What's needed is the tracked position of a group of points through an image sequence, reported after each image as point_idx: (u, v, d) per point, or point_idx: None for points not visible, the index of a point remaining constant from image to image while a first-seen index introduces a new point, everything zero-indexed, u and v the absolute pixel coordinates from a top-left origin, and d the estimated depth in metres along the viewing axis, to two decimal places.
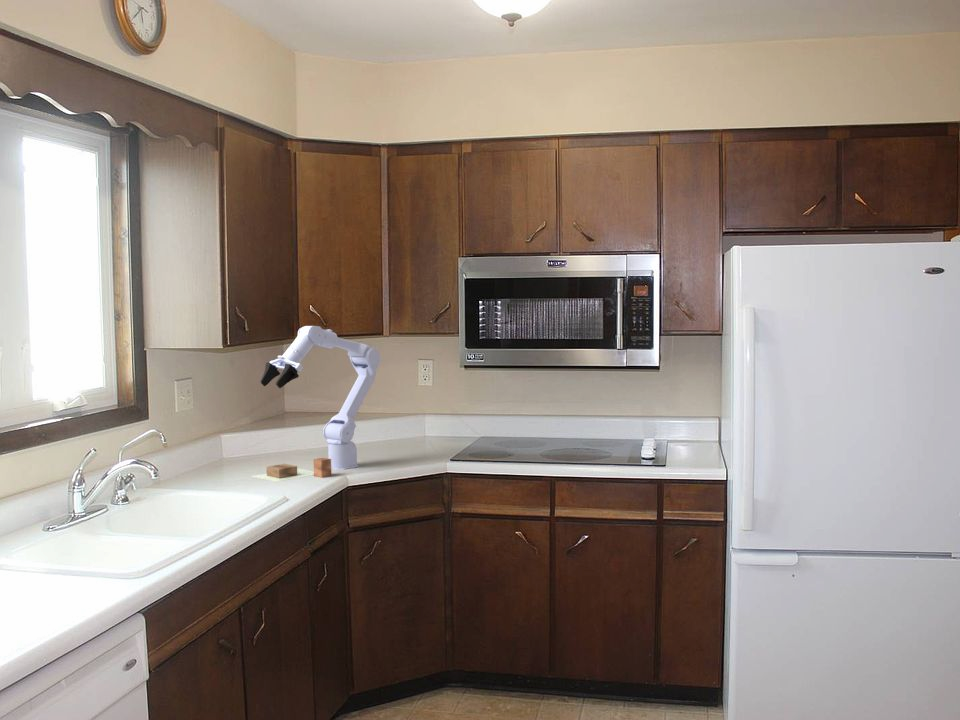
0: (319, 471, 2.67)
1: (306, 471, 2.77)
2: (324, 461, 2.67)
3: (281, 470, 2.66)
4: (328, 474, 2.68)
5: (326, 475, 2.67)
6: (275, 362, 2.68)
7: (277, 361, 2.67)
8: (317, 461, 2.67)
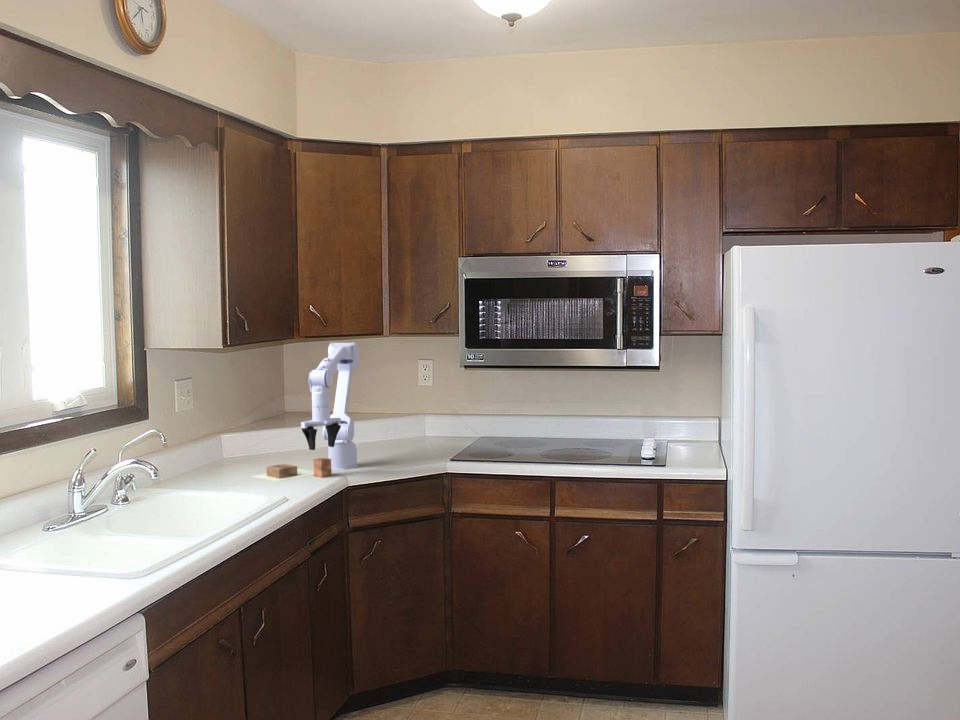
0: (319, 471, 2.67)
1: (306, 471, 2.77)
2: (324, 461, 2.67)
3: (281, 470, 2.66)
4: (328, 474, 2.68)
5: (326, 475, 2.67)
6: (313, 424, 2.64)
7: (318, 423, 2.65)
8: (317, 461, 2.67)
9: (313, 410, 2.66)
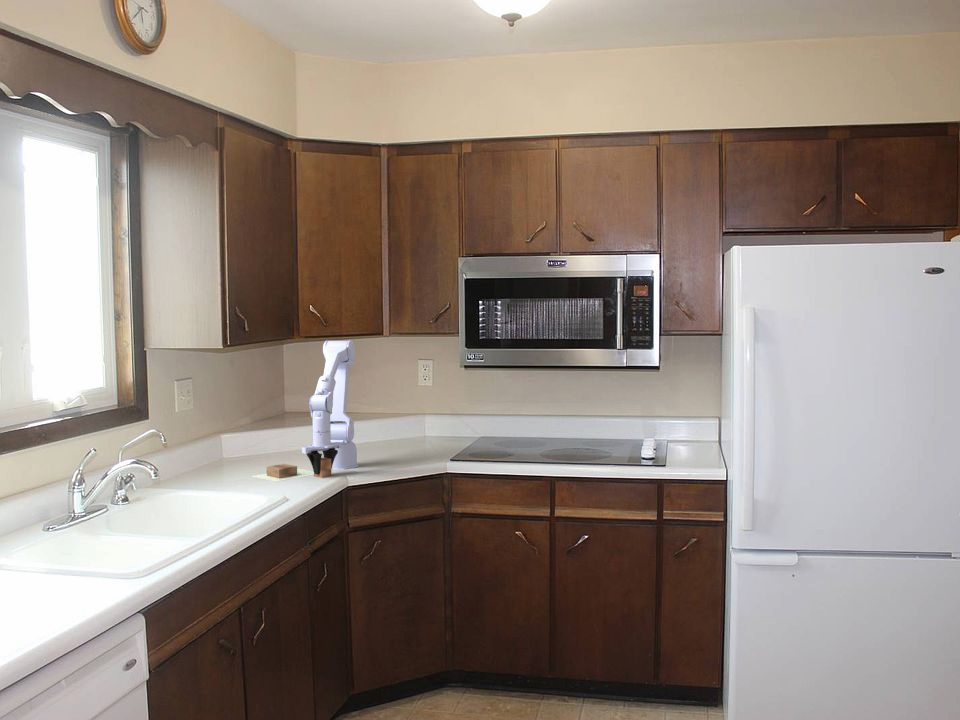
0: None
1: (306, 471, 2.77)
2: (324, 461, 2.67)
3: (281, 470, 2.66)
4: (328, 474, 2.68)
5: (326, 475, 2.67)
6: (314, 449, 2.64)
7: (319, 448, 2.65)
8: None
9: (314, 435, 2.66)
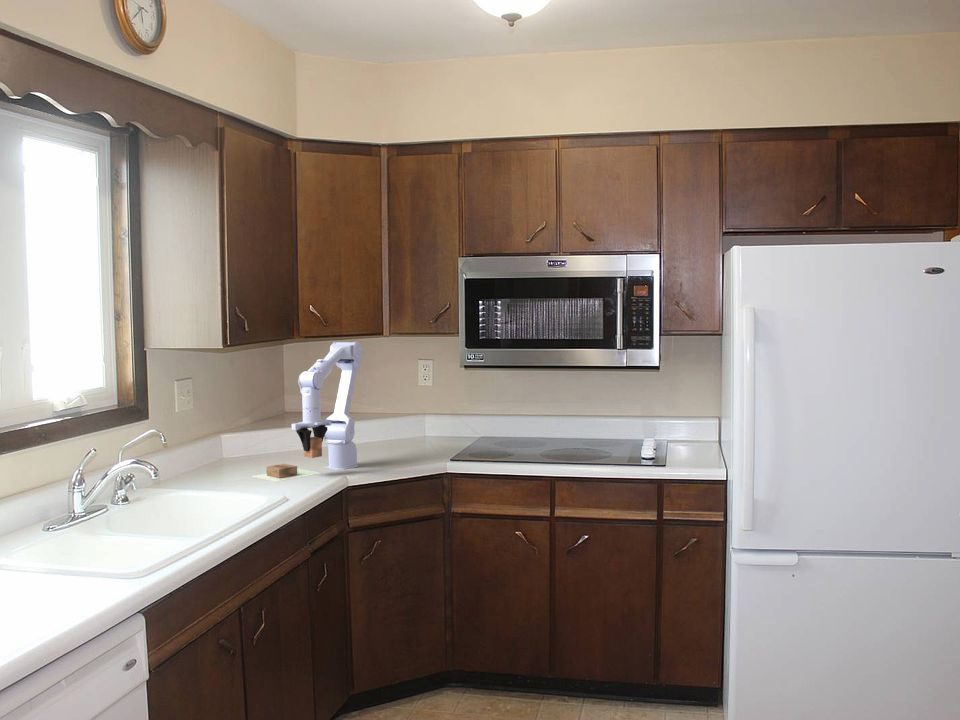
0: (309, 450, 2.66)
1: (306, 471, 2.77)
2: (315, 440, 2.66)
3: (281, 470, 2.66)
4: (318, 453, 2.68)
5: (316, 454, 2.67)
6: (304, 425, 2.64)
7: None
8: None
9: (304, 412, 2.66)
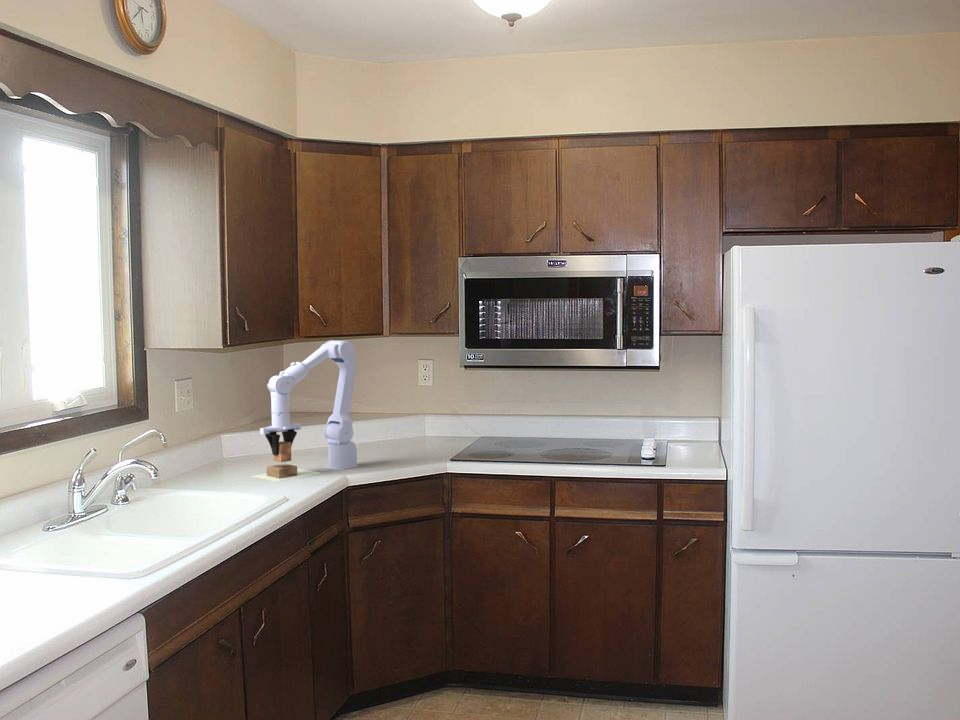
0: (278, 454, 2.67)
1: (306, 471, 2.77)
2: (284, 445, 2.67)
3: (281, 470, 2.66)
4: (288, 458, 2.69)
5: (286, 459, 2.68)
6: (272, 430, 2.65)
7: (277, 429, 2.66)
8: None
9: (272, 416, 2.67)
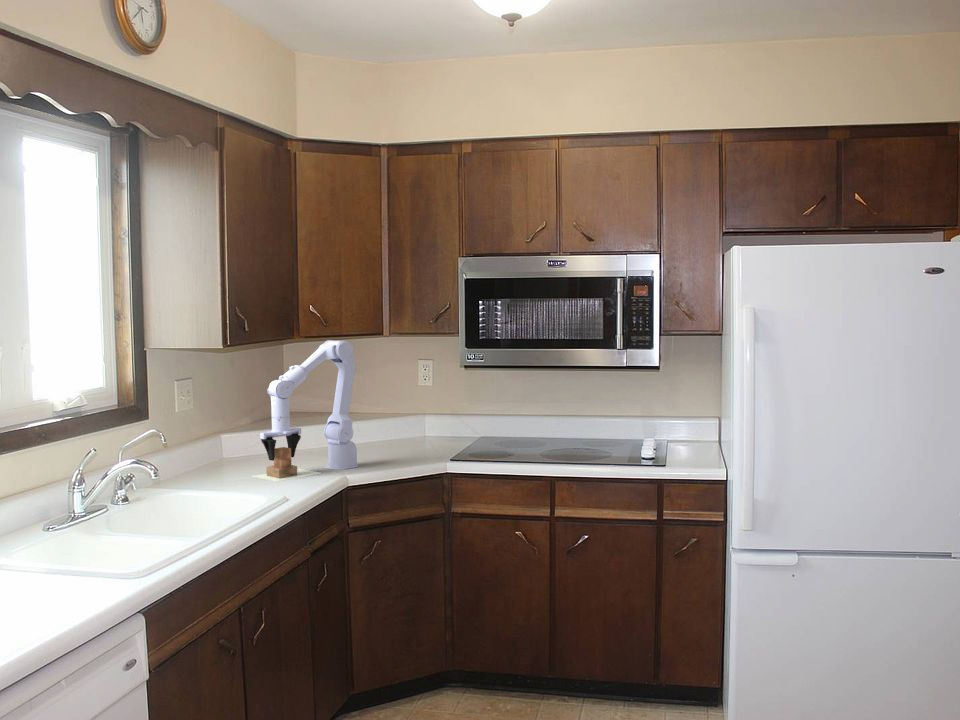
0: (278, 460, 2.67)
1: (306, 471, 2.77)
2: (284, 450, 2.67)
3: (281, 470, 2.66)
4: (288, 463, 2.69)
5: (286, 464, 2.68)
6: (272, 434, 2.65)
7: (277, 434, 2.66)
8: (277, 450, 2.68)
9: (272, 421, 2.67)
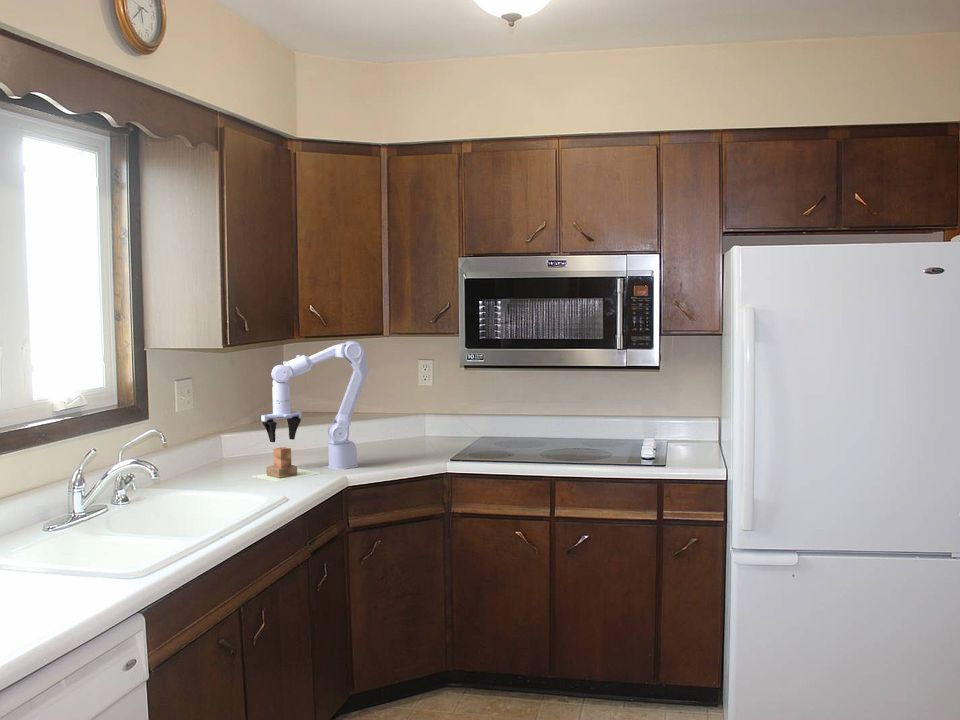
0: (278, 460, 2.67)
1: (306, 471, 2.77)
2: (284, 450, 2.67)
3: (281, 470, 2.66)
4: (288, 463, 2.69)
5: (286, 464, 2.68)
6: None
7: None
8: (277, 450, 2.68)
9: (273, 404, 2.77)
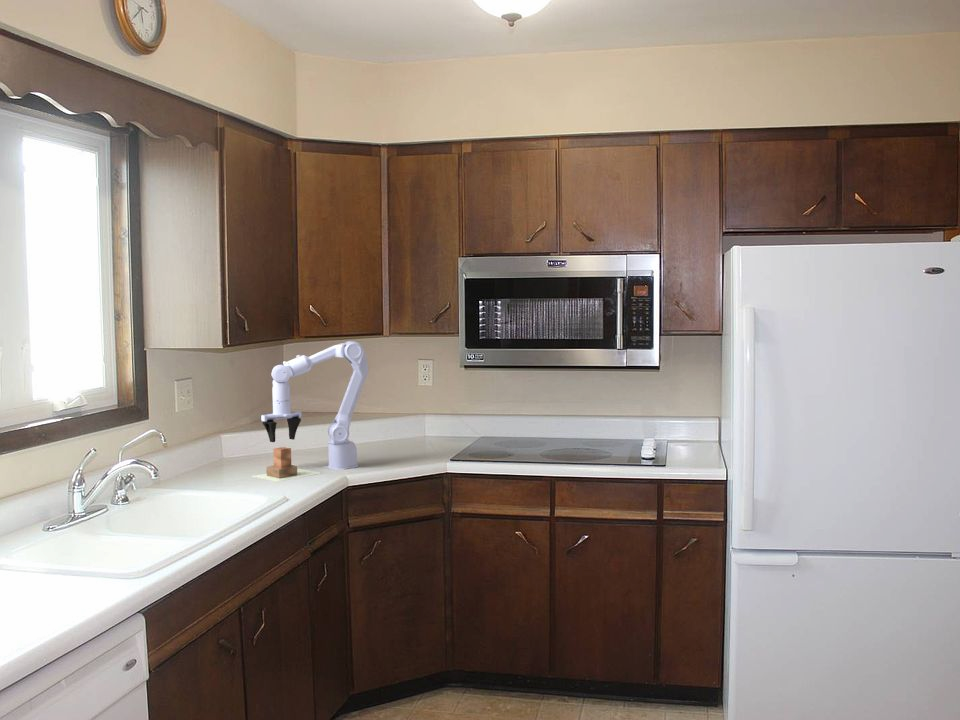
0: (278, 460, 2.67)
1: (306, 471, 2.77)
2: (284, 450, 2.67)
3: (281, 470, 2.66)
4: (288, 463, 2.69)
5: (286, 464, 2.68)
6: (273, 417, 2.75)
7: None
8: (277, 450, 2.68)
9: (273, 404, 2.77)
